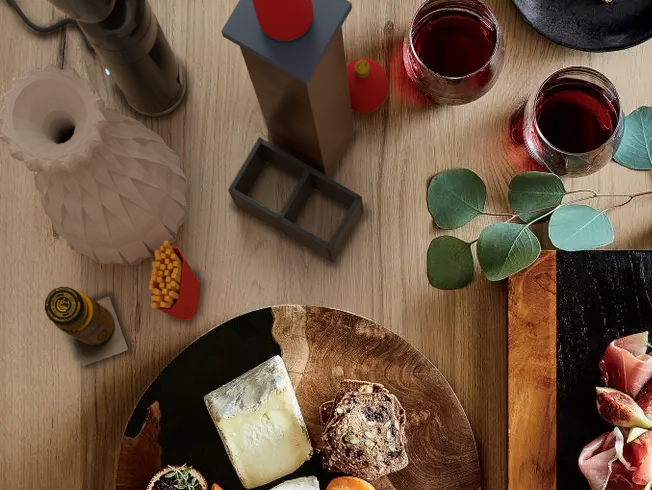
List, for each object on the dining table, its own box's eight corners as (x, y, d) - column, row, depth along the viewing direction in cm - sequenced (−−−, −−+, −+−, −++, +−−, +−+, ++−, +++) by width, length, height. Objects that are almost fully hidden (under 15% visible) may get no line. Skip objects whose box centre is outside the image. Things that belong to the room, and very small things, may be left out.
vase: (53, 263, 122) (-59, 181, 92) (85, 133, 122) (-17, 9, 92) (183, 295, 122) (113, 223, 92) (215, 164, 122) (156, 49, 92)
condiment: (109, 296, 122) (78, 272, 110) (128, 350, 122) (99, 331, 110) (63, 313, 122) (27, 291, 110) (83, 366, 122) (48, 350, 110)
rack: (236, 206, 122) (227, 190, 116) (266, 155, 122) (259, 136, 116) (333, 263, 122) (330, 250, 116) (363, 212, 122) (362, 196, 116)
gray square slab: (222, 36, 92) (220, 31, 91) (267, -41, 92) (266, -47, 91) (307, 85, 92) (306, 80, 91) (352, 8, 92) (351, 2, 91)
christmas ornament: (355, 131, 122) (351, 96, 112) (332, 89, 122) (326, 51, 112) (397, 107, 122) (397, 71, 112) (374, 66, 122) (371, 25, 112)
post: (275, 151, 122) (234, 33, 92) (302, 105, 122) (271, -29, 92) (327, 182, 122) (303, 73, 92) (354, 135, 122) (340, 11, 92)
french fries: (174, 266, 122) (148, 236, 109) (203, 269, 122) (180, 240, 109) (167, 327, 122) (140, 305, 109) (196, 330, 122) (172, 308, 109)
